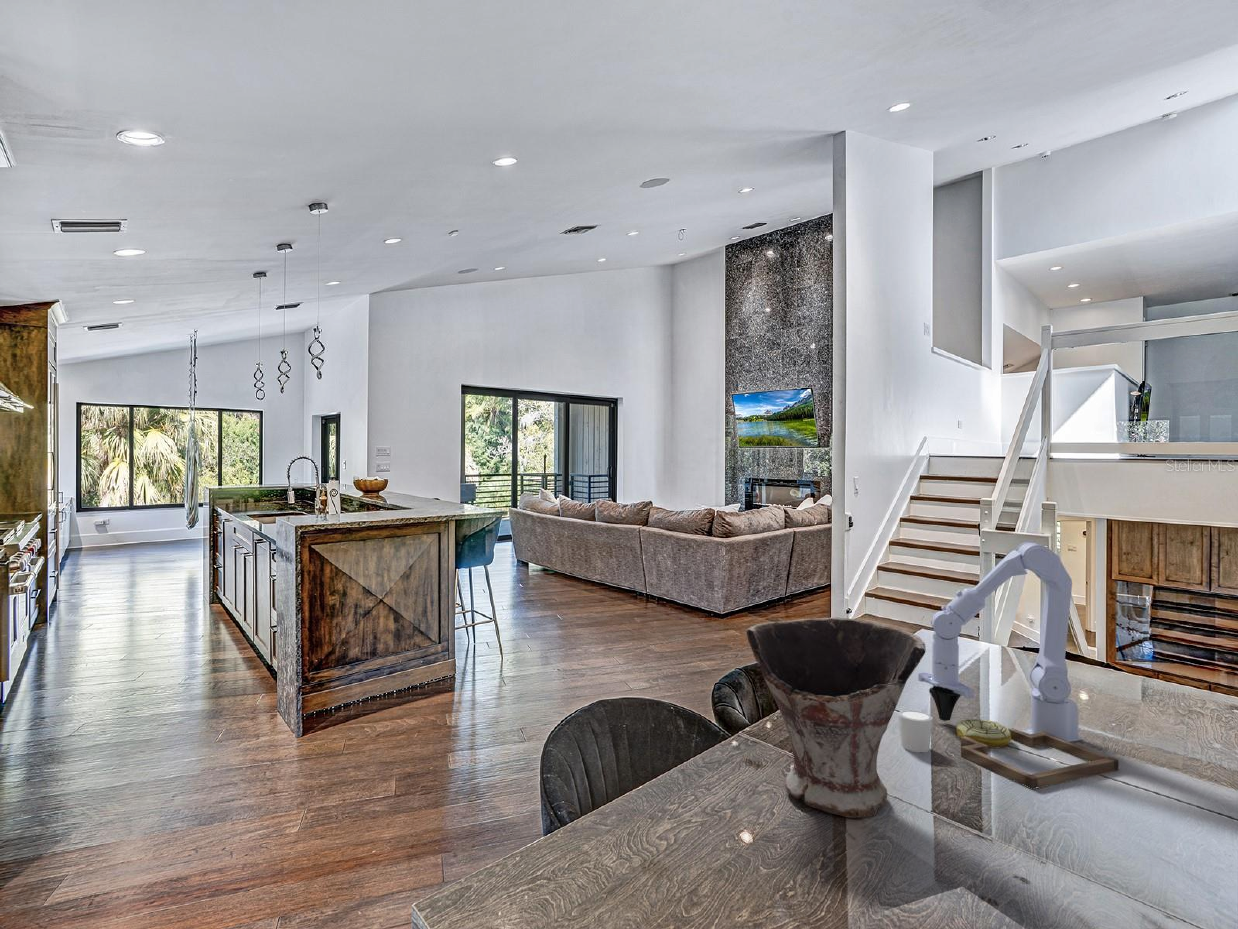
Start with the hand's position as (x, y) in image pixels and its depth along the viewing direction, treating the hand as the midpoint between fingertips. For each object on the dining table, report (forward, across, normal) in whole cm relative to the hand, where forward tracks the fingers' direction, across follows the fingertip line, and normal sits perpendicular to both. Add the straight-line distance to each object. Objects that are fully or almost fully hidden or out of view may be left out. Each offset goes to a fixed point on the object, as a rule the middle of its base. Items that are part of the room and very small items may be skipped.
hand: (944, 719), depth 162 cm
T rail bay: (+1, +22, 0) cm, 22 cm away
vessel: (+1, +20, -49) cm, 53 cm away
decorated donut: (+1, +10, 0) cm, 11 cm away
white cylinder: (+1, +8, -18) cm, 20 cm away
